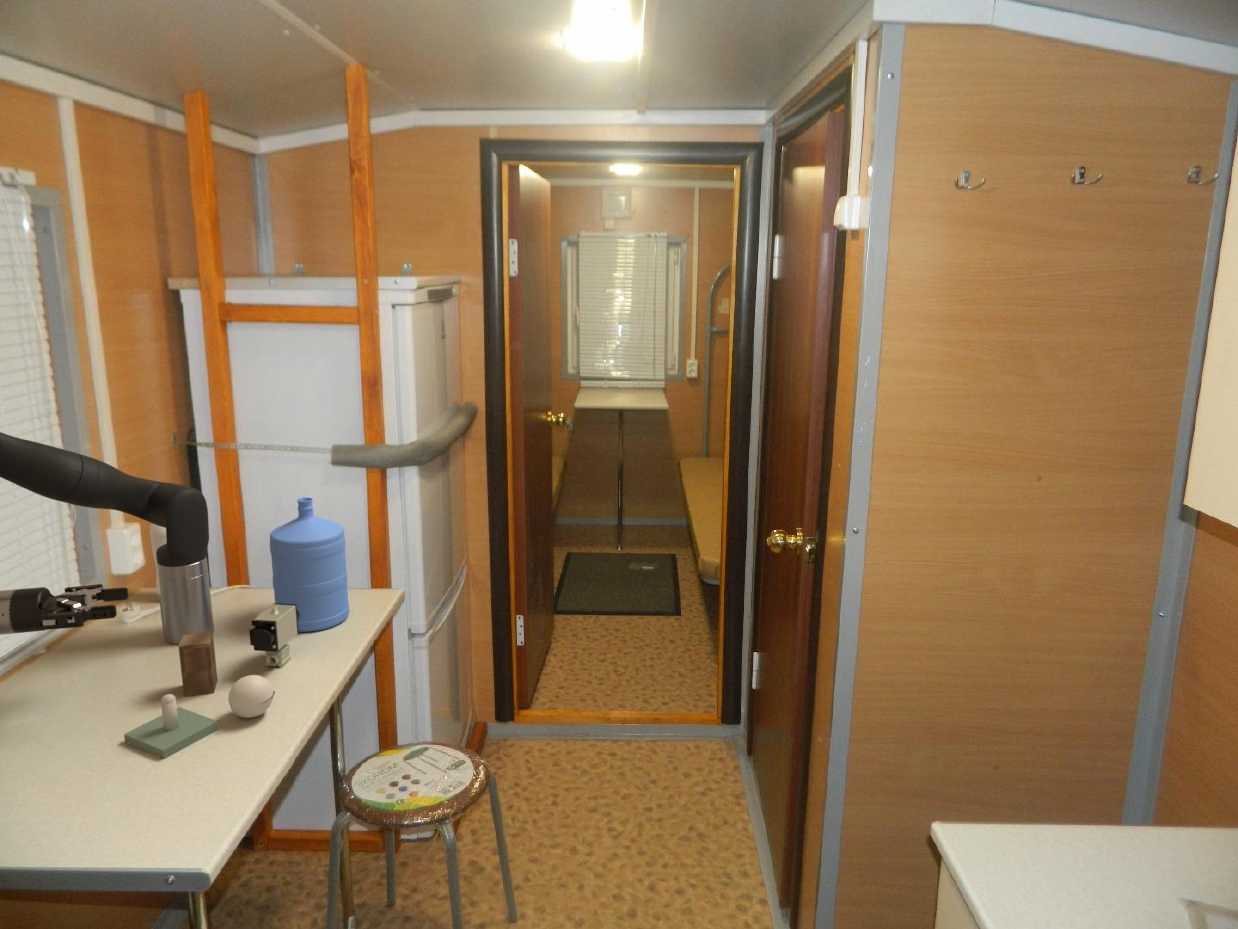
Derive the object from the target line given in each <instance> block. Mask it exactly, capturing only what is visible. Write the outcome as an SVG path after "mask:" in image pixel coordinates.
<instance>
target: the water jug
mask: <svg viewBox="0 0 1238 929" xmlns="http://www.w3.org/2000/svg"><path fill="white" fill-rule="evenodd" d="M313 500H314V499H313V498H312V497H302V498H298V499H297V500H296V502H297V511H298V515H297V517H296V518H295V519H292V520H291V521H289V522H286V523H284V524H282V525H280V526H278V527H276V528H274V529H273V530H272V531H271V532H270V535H269V550H270V551H269V552H270V556H271V557H270V558H271V568H272V588H273V593H274V603H281V604H296V605H297V610H298V611H299V613H300V620H299V622H298V630H299V633H303V632H307V633H308V632H317V631H323V630H326V629H330V628H333V627H335V626H337V625H339V624H341V623H343V622H344V621H345V620H346V619H347V618H348V616H349V615H350V604H349V597H348V596H349V595H348V593H349V592H348V574H347V572H348V571H347V564H346V563H347V562H346V560H347V558H346V536H345V529H344V527H343V526H342V525H341V524H340V523H338V522H334V521H331V520H328V519H324V518H321V517H317V516H315V514H314V505H313Z"/></svg>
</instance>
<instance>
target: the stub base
mask: <svg viewBox="0 0 1238 929" xmlns="http://www.w3.org/2000/svg"><path fill="white" fill-rule="evenodd" d="M160 706H161V715H159V716H158V717H156V718H154V719H151V720H150V721H148V722H146V723H144V724H142V725H139V726H138V727H137V726H136V728H134V729H132V730H130V731H127V732H126V733H123V736H124V743H126V744H128V745H130V746H133V747H136V748H138V749H140V750H142V751H145V752H148V753H150V754H152V755H155V756H156V757H159V758H162V759H166V758H169V757H170V756H173V755H174V754H175V753H177V752H179V751H181V750H183V749H185V748H187V747H189V746H190V745H192V744H194V743H195V742H197V741H199V740H201V739H203V738H206V737H207V736H208V735H210V734H212V733H214V732H216V731H217V730H219V721H218V720H215V719H213V718H210V717H207V716H204V715H202V714H198V713H197V712H193V711H191V710H188V709H185V708H183V707H180V706H178V705H177V699H176V696H175V695H174V694H172V693H167V694H165V695H163V696H162V697H161V699H160ZM177 706H178V707H177Z"/></svg>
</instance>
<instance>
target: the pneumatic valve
mask: <svg viewBox="0 0 1238 929" xmlns="http://www.w3.org/2000/svg"><path fill="white" fill-rule="evenodd" d="M299 620H300V613H299V611H298V610H297V605H296V604H281V603H275V602H274V603H273V604H272V605H271V606H269V607H267V609H265V610H261V611H260V612H259V613H257V614H256V617H255V618H254V619H252V620H251V629H249V640H250V645H251V646H253V650H254V651H257V652H258V651H259V652H265V653H264V654H265V655H266V659H265V662H266V664H265V665H266V666H267V667H277V666H278V667H279V668H282V667H283V666H284V665H286V663H288V662H289V661H290V660H291V655H290V650H291V648H290V647H291V646H290V644H289V643H288V642H290V641H291V640H292V639H293V638H294V637H295V636H296V635H298V634H299V633H300V632H299V630H298V622H299Z"/></svg>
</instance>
